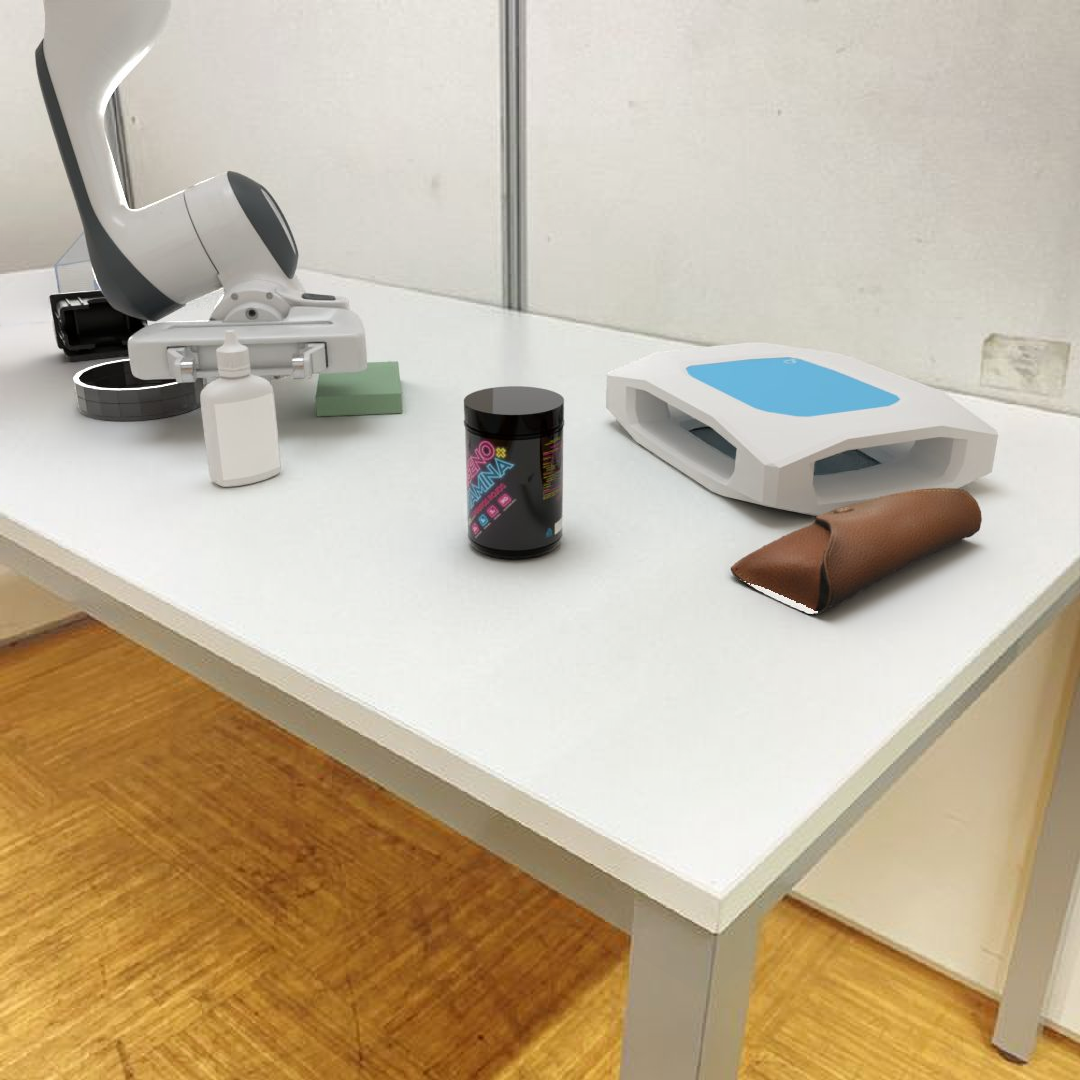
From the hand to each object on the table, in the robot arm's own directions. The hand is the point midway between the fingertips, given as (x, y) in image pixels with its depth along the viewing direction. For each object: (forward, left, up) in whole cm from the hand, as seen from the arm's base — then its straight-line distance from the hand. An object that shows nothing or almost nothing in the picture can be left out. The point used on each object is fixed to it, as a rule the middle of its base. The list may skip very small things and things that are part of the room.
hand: (243, 371), depth 93 cm
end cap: (-20, +40, -8) cm, 45 cm away
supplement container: (+20, -21, -8) cm, 30 cm away
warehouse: (-25, +80, -8) cm, 84 cm away
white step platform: (+45, -5, -8) cm, 46 cm away
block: (+9, +17, -8) cm, 21 cm away
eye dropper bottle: (0, -5, -8) cm, 9 cm away
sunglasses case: (+42, -27, -8) cm, 51 cm away
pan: (-12, +18, -8) cm, 23 cm away
